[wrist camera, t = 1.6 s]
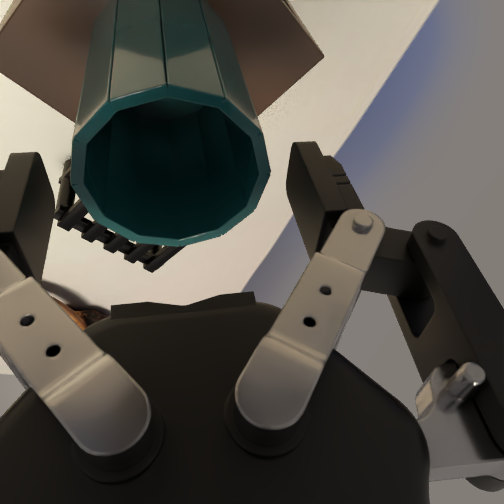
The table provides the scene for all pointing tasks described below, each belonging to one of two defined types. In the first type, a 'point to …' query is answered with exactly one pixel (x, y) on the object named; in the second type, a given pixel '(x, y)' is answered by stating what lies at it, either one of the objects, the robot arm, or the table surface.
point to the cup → (166, 125)
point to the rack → (105, 229)
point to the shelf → (80, 30)
